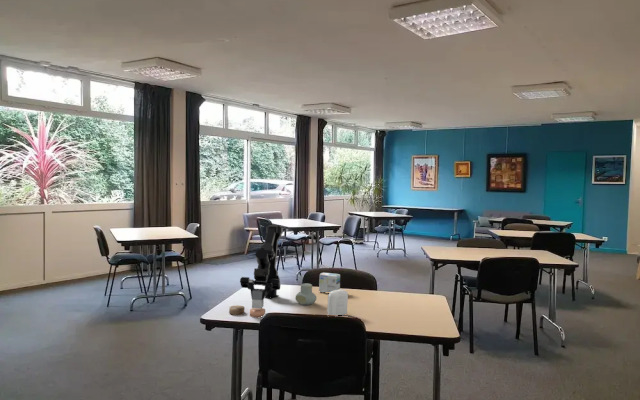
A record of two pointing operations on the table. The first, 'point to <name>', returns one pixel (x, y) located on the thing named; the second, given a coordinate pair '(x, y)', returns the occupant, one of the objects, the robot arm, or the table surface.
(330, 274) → the light bulb box
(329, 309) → the photo printer
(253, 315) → the stand
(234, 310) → the stand
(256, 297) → the plate
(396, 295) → the table surface
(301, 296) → the grey plastic tee piece
